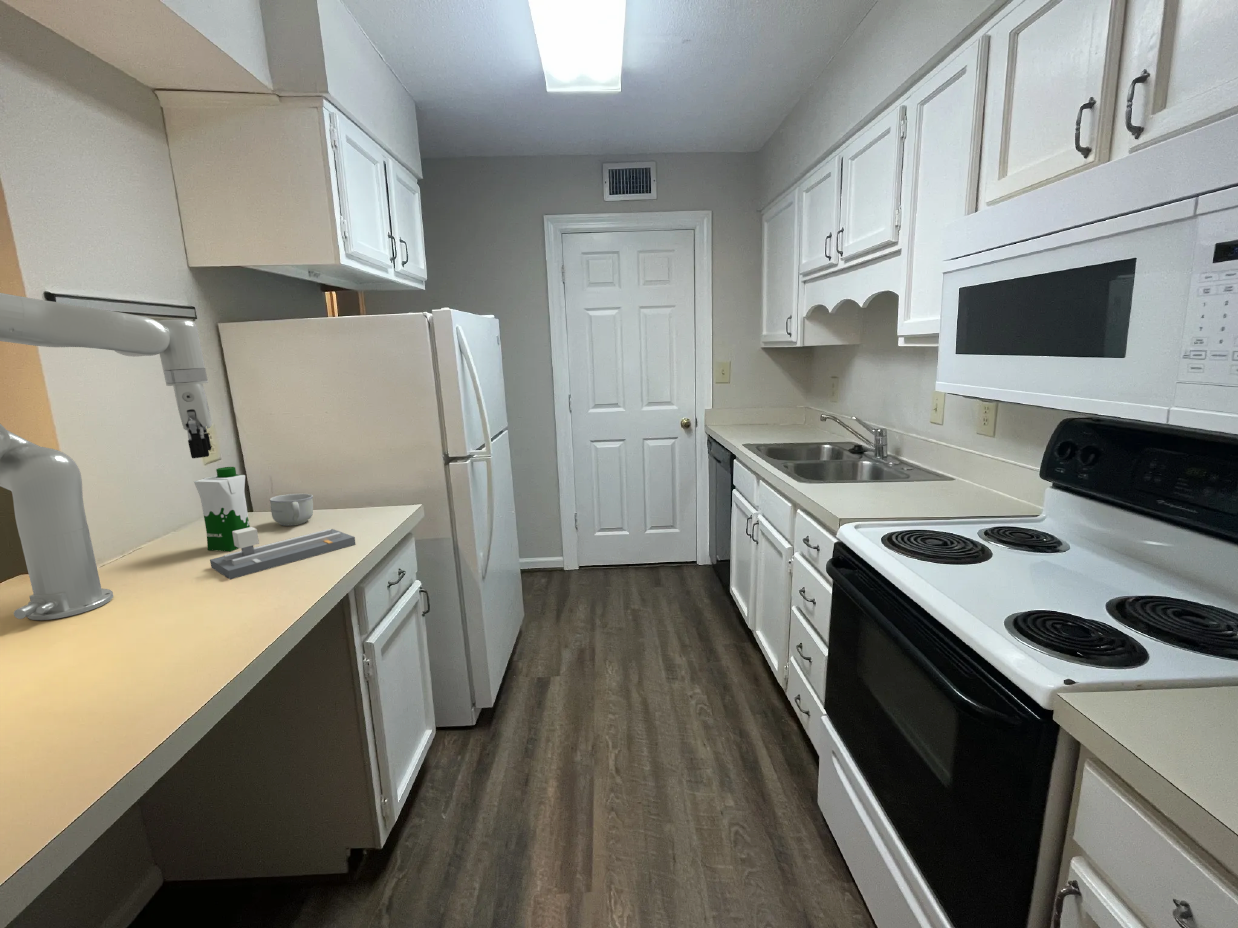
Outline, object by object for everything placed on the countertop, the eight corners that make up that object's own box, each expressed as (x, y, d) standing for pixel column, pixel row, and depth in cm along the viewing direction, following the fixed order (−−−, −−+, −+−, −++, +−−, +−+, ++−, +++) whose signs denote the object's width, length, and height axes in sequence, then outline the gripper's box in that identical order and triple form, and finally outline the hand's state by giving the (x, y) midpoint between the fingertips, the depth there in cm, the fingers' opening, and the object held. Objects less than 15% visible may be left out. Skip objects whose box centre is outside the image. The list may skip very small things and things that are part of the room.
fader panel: (230, 579, 127) (227, 566, 127) (211, 567, 135) (209, 555, 134) (355, 544, 148) (354, 533, 148) (333, 536, 156) (331, 525, 155)
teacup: (275, 521, 172) (271, 494, 170) (316, 515, 176) (313, 490, 175) (270, 533, 160) (266, 505, 158) (314, 527, 164) (311, 500, 162)
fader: (241, 560, 133) (237, 533, 131) (236, 557, 135) (232, 531, 133) (261, 555, 136) (256, 529, 134) (255, 552, 138) (251, 526, 136)
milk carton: (259, 541, 153) (248, 466, 149) (229, 553, 144) (216, 474, 140) (232, 540, 155) (220, 466, 151) (200, 551, 146) (187, 473, 142)
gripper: (204, 377, 123) (220, 457, 127) (208, 374, 138) (223, 446, 141) (160, 380, 119) (177, 462, 123) (169, 377, 134) (185, 450, 138)
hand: (202, 454), depth 132 cm, fingers open, 9 cm apart
